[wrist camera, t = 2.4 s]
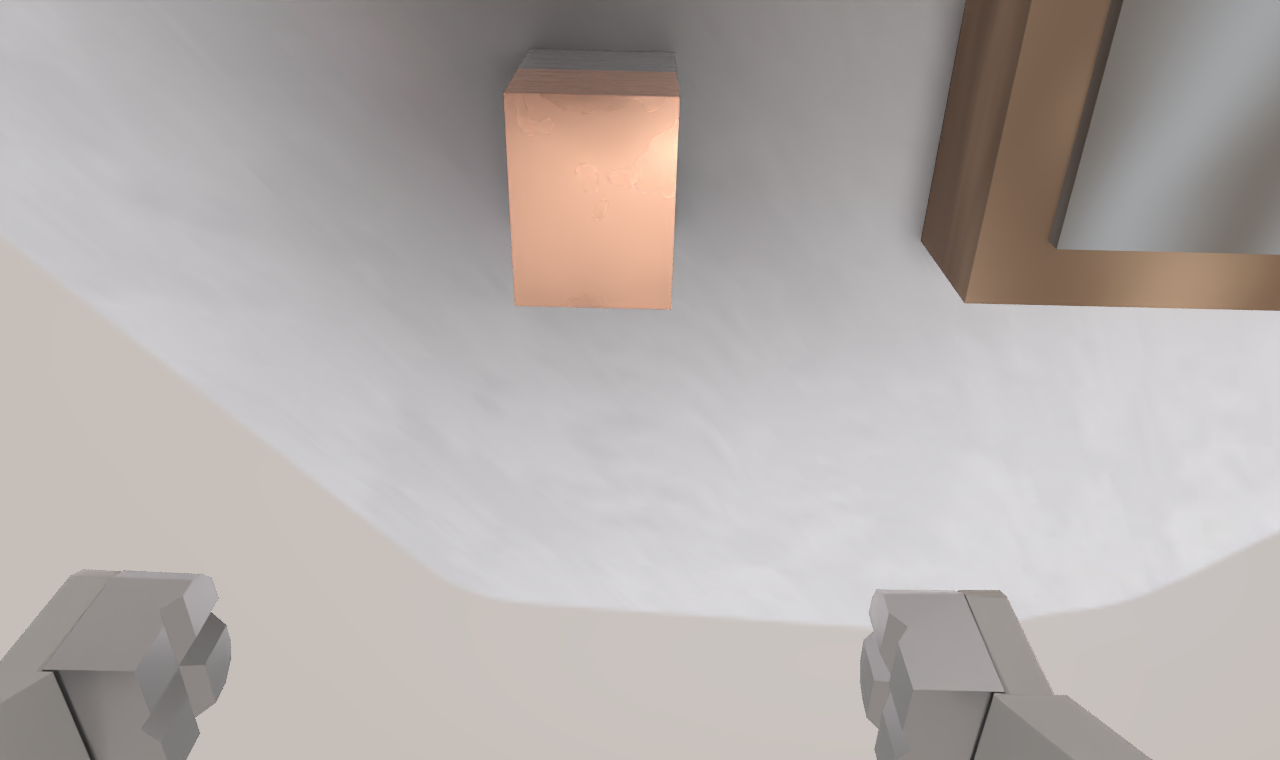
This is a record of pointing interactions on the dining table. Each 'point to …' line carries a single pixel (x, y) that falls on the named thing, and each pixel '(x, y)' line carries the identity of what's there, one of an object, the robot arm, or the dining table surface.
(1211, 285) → the walnut stand
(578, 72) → the block
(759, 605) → the dining table surface
